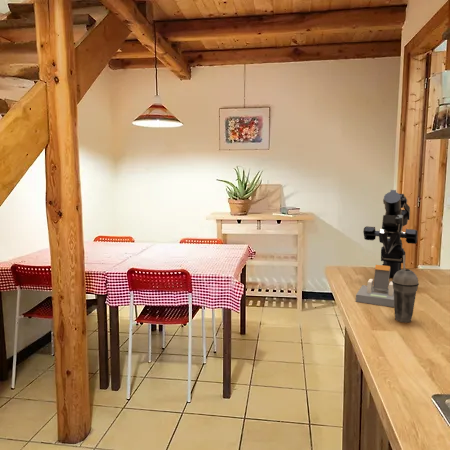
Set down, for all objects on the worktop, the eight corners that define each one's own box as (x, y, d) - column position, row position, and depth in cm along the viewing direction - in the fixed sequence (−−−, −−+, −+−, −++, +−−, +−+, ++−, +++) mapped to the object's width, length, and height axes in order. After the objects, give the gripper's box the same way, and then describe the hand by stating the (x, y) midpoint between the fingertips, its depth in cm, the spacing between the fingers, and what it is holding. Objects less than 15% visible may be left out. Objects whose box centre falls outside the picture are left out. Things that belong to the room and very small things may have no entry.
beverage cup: (422, 322, 120) (426, 256, 117) (403, 325, 118) (407, 258, 115) (403, 313, 127) (406, 251, 124) (384, 317, 125) (388, 253, 121)
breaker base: (362, 291, 149) (362, 274, 148) (403, 297, 142) (404, 279, 141) (355, 301, 138) (356, 283, 138) (400, 308, 132) (401, 289, 131)
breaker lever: (373, 290, 142) (376, 266, 144) (387, 292, 140) (390, 267, 142) (372, 289, 140) (375, 264, 142) (387, 291, 138) (389, 266, 140)
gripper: (365, 205, 156) (358, 238, 148) (419, 207, 147) (415, 243, 139) (367, 223, 164) (361, 255, 156) (418, 226, 155) (415, 260, 147)
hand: (387, 253), depth 150 cm, fingers closed
